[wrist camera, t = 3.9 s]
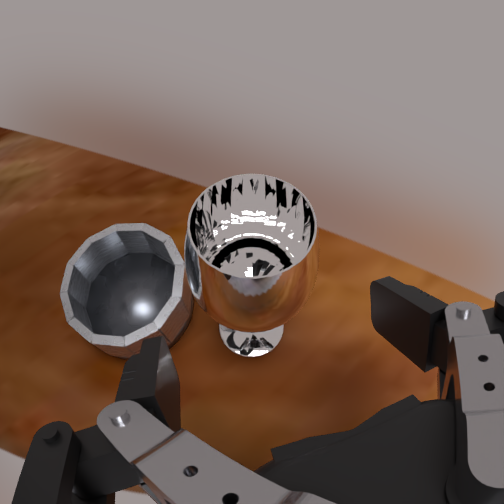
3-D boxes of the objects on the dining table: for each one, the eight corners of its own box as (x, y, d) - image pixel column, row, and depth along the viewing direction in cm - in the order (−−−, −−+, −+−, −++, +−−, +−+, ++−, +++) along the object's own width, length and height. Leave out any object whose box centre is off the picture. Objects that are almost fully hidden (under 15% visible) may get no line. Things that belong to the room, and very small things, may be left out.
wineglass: (253, 273, 24) (255, 145, 14) (310, 326, 22) (362, 224, 11) (192, 323, 22) (142, 218, 11) (249, 384, 20) (248, 331, 9)
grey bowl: (107, 379, 19) (81, 367, 16) (75, 282, 23) (52, 257, 20) (214, 326, 22) (207, 305, 18) (166, 236, 25) (154, 205, 22)
